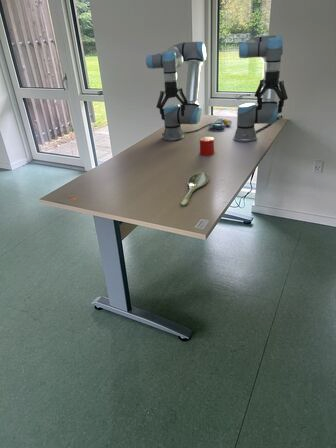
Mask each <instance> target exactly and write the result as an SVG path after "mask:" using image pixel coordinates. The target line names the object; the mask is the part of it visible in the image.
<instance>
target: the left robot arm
mask: <svg viewBox="0 0 336 448" xmlns="http://www.w3.org/2000/svg"><path fill="white" fill-rule="evenodd" d="M206 60H207V50H206V45H205V43H204V42H203V41H187V42H179V43H176V44H174V45H171V46H169V47H168V48H167V49H166V50H164V51H161V52H158V53H156V54H148V55H147V56H146V57H145V66H146V67H147V68H148V69H153V70H154V69H162V70H163V80H164V90H160V91H159V97H158V99H157V103H156V109H159V115H160V116H161V121H163V122H164V130H163V133H162V134H161V135H162V139H163V140H164V141H167V142H176V141H180V140H182V139H184V137H185V136H184V134H188V133H189V134H190V133H194V132H197V131H200V130H201V129H204V128H205V127H206V128H207V127H208V126H210V124H211V123H212V122H211V123H208V124H205V125H204V126H201V127H200V128H198V129H195V130H191V131H183V129H182V126H181V125H197V124H199V122H200V121H201V117H202V107H201V106H200V103H198V101H199V100H198V99H199V88H200V87H199V85H200V74H201V73H200V72H201V66H203V64H204V61H206ZM184 62H185V64H186V66H187V71H186V85H185V86H186V87H185V93H184V92H183V91H184V89H183V87H179V88H178V81H177V80H178V73H177V68H179V67H180V66H182V65H183V64H184ZM178 93H179V94H178ZM179 95H180V96H179ZM172 98H176V99H177V101H178V102H180V104H178V103H174V104H169V105H166V103H167V101H168V100H169V99H172ZM165 105H166V106H165Z"/></svg>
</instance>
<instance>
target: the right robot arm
mask: <svg viewBox="0 0 336 448" xmlns="http://www.w3.org/2000/svg"><path fill="white" fill-rule="evenodd" d="M283 54H284V42H283V37H282V36H281V35H279V34H277V35H275V34H273V35H262V36H261V35H260V36H253V37H251V38H249V39H247V40H246V41H244V42H241V43H239V45H238V58H239V59H252V58H261V62H262V63H263V65H262V66H263V67H262V79H260V80H259V84H258V87H257V88H256V91H255V93H254V98H256V103H255V102H248V103H247V102H246V103H243V104H241V105H238V107H237V112H236V115H237V117H236V119H237V120H236V130H235V133H234V135H233V140H234V141H236V142H240V143H249V142H254V141H256V140H257V132H259V131H261V130H263V129H265V128H267V127H268V126H270V125H271V124H275V123H276V122H277V120H278V119H279V118H280V117H281V118H283V116H282V115H281V116H280V115H279V114H281V113H283V107H285V101H286V100H288V99H289V98H288V94H287V90H286V86H285V81H284V80H279V79H280V76H281V75H280V74H281V71H280V70H281V62H282V56H283ZM276 95H277V98H278V99H279V100H278V101H277V100H276ZM257 124H260V125H261V124H266V125H265V126H263V127H261V128H259V129H257V130H256V129H255V125H257Z"/></svg>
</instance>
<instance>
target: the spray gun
mask: <svg viewBox="0 0 336 448" xmlns="http://www.w3.org/2000/svg"><path fill="white" fill-rule="evenodd" d="M209 124H210V123H209ZM232 124H233V122H232V120H229V119H227V118H226V119H224V118H216V119H215V120H213V121H212V122H211V124H210V125H209V129H212V130H213V129H215V130H224V129H225V128H226V126H227V127H231V126H232Z"/></svg>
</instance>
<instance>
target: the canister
mask: <svg viewBox="0 0 336 448" xmlns="http://www.w3.org/2000/svg"><path fill="white" fill-rule="evenodd" d="M199 154H200V156H203V157H210V156H214V155H215V138H214V137H212V136H203V137H201V138H199Z"/></svg>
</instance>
